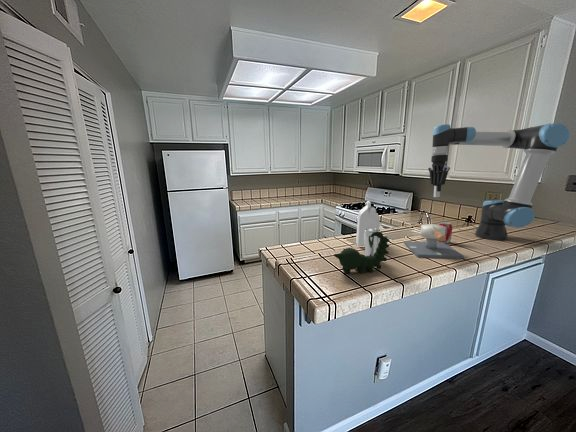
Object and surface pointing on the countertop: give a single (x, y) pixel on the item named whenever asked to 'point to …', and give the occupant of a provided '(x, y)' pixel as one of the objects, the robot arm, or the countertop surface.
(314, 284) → the countertop surface
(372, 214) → the milk
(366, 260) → the toy figurine
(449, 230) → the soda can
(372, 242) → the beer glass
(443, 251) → the post base
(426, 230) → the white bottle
